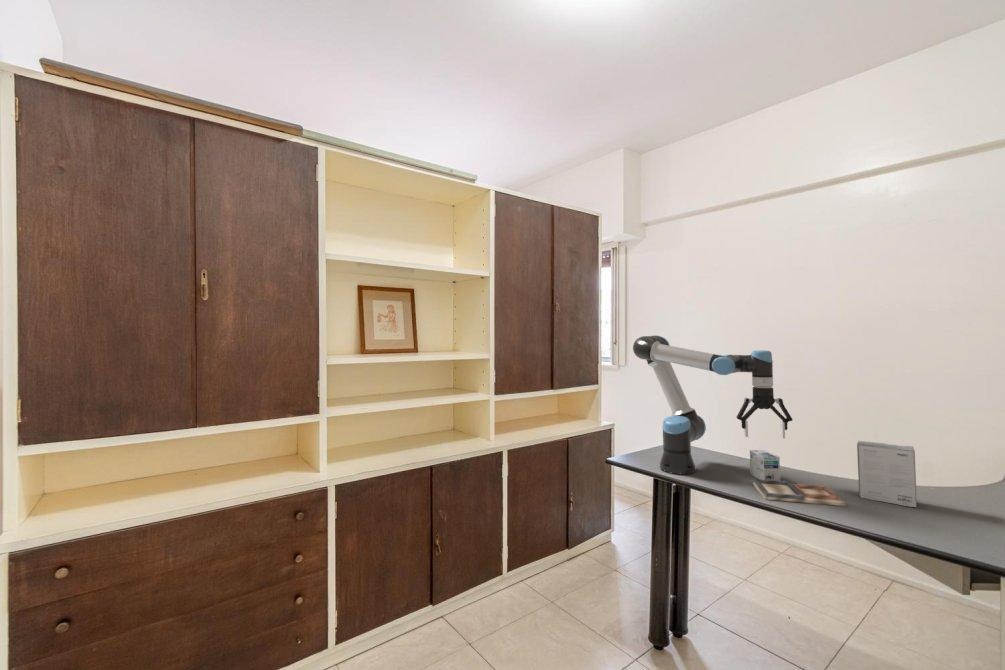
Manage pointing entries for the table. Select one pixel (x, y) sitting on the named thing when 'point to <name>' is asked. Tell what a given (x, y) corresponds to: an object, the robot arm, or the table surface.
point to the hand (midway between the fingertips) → (764, 437)
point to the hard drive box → (887, 473)
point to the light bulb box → (764, 465)
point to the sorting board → (797, 492)
